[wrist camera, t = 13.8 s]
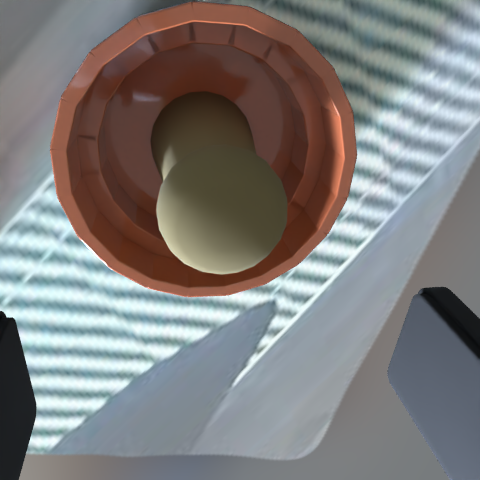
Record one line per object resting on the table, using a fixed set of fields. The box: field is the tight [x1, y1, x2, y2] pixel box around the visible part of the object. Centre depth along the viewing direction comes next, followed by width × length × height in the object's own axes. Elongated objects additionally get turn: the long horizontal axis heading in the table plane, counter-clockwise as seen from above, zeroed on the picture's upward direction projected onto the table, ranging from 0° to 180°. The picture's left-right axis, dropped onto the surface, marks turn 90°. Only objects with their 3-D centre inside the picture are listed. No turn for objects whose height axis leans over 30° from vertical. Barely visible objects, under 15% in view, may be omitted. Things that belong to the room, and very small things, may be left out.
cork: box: [150, 91, 287, 275], centre depth 20 cm, size 6×6×11 cm
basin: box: [50, 1, 357, 297], centre depth 22 cm, size 14×14×6 cm
